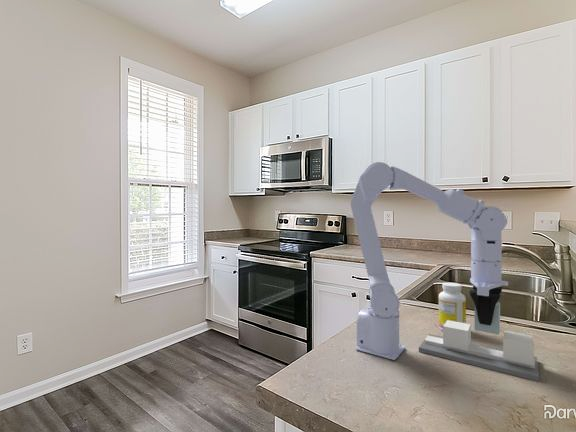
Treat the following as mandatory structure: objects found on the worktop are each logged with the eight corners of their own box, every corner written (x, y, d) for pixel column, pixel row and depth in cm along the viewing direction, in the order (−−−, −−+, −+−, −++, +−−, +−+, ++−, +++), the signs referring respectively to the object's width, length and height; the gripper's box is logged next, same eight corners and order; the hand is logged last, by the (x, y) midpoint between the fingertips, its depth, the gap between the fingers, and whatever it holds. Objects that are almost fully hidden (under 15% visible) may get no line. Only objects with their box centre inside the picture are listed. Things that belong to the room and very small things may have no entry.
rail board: (418, 351, 73) (418, 325, 73) (428, 337, 81) (428, 313, 81) (539, 381, 60) (539, 349, 60) (536, 361, 68) (536, 332, 68)
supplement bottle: (457, 325, 89) (456, 281, 89) (471, 335, 83) (471, 286, 82) (434, 326, 89) (434, 281, 89) (446, 335, 82) (446, 287, 82)
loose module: (474, 330, 69) (474, 303, 69) (476, 324, 72) (476, 299, 72) (499, 334, 66) (499, 306, 66) (500, 329, 69) (500, 302, 69)
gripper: (506, 266, 61) (506, 335, 61) (509, 257, 72) (509, 315, 72) (465, 263, 65) (465, 328, 65) (474, 255, 77) (474, 310, 77)
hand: (486, 321), depth 69 cm, fingers closed on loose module, 4 cm apart
